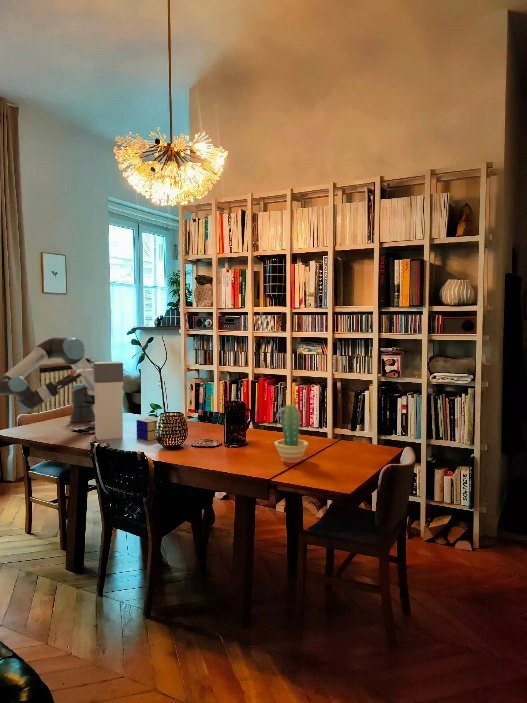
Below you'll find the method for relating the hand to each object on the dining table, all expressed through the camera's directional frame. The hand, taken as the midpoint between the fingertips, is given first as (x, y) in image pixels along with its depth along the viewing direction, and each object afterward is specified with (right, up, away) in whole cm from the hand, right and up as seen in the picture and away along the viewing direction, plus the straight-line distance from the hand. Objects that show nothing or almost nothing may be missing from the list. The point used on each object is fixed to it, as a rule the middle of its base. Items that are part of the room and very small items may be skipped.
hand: (85, 369), depth 283 cm
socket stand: (+10, -36, +7) cm, 38 cm away
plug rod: (+4, -3, +2) cm, 6 cm away
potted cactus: (+106, -40, -39) cm, 120 cm away
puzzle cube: (+33, -37, +4) cm, 50 cm away
